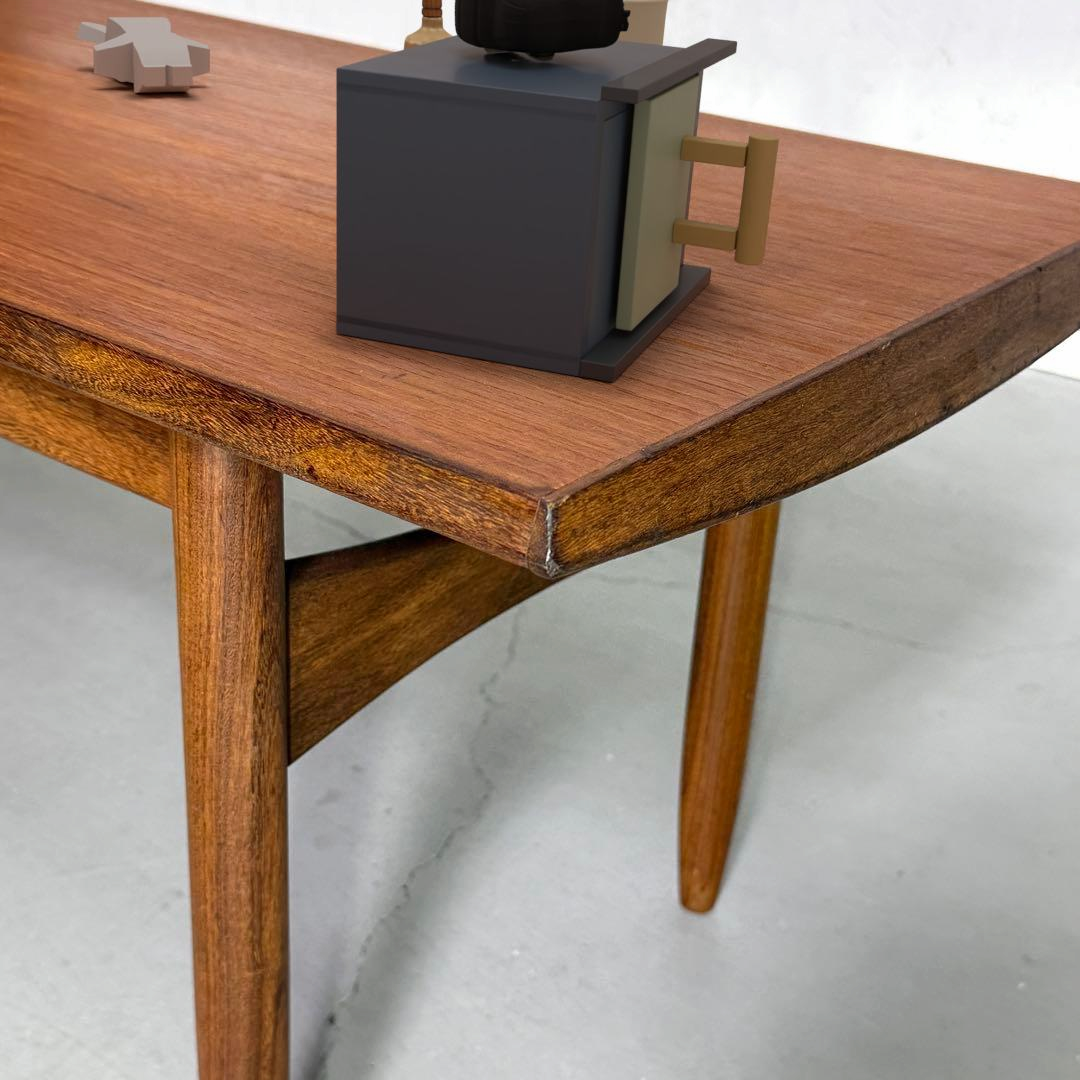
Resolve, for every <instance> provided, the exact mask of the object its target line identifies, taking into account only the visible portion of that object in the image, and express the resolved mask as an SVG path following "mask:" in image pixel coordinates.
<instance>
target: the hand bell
mask: <svg viewBox="0 0 1080 1080" xmlns="http://www.w3.org/2000/svg"><path fill="white" fill-rule="evenodd" d="M421 7H422V8H421V15H422V17H421V26H420V27H419V28H418V29H417V30H416V31H414V32H412V33H410V34H407V36H406V37H405V39H404V43H403V50H404V49H408V48H412V47H415V46H419V45H423V44H426V43H430V42H434V41H437V40H441V39H445V38H448V37H452V36H453V35H452V34H451V33H449V32H448V31H446V29H445V27H444V19H443V8H442V7H443V0H421Z"/></svg>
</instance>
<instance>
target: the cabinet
mask: <svg viewBox="0 0 1080 1080" xmlns="http://www.w3.org/2000/svg"><path fill="white" fill-rule="evenodd" d="M737 48H738V41H736V40H729V39H719V38H711V37H708V38H705V39H703V40H701V41H698V42H696V43H694V44H692V45H689V46H687V47H682V46H681V47H679V46H671V45H664V44H663V45H654V44H645V43H636V42H627V41H618V40H617V41H616V42H615V43H614V44H613V45H611V46H608V47H606V48H597V49H584V50H577V51H571V52H563V53H555V54H554V57H553V59H552V60H549V61H547V62H542V61H538V60H536V59H533V58H531V57H529V56H528V55H527V54H526V53H522V52H495V53H487V52H486V51H485V50H484V48H480V47H476V46H473V45H470V44H468V43H466V42H464V41H463V40H461V39H460V38H459V37H458V35H457V34H456V35H452V37H448V38H445V39H441V40H437V41H434V42H430V43H426V44H423V45H419V46H415V47H412V48H408V49H404V48H403V49H401V50H398V51H394V52H390V53H387V54H383V55H378V56H376V57H375V56H374V57H372V58H369V59H364V60H361V61H357V62H354V63H349V64H347V65H343V66H342V65H341V66H339V67H336V74H335V76H336V77H335V78H336V80H335V82H336V83H335V84H336V85H335V87H336V89H335V90H336V96H335V97H336V98H335V99H336V102H335V103H336V105H335V106H336V109H335V110H336V117H335V118H336V123H335V124H336V125H335V126H336V127H335V128H336V131H335V132H336V133H335V135H336V136H335V138H336V141H335V142H336V146H335V147H336V148H335V149H336V156H335V157H336V163H335V164H336V168H335V169H336V184H335V185H336V187H335V189H336V191H335V192H336V195H335V196H336V197H335V199H336V201H335V202H336V204H335V205H336V207H335V208H336V216H335V217H336V219H335V220H336V226H335V227H336V230H335V231H336V237H335V239H336V243H335V244H336V245H335V246H336V251H335V252H336V256H335V257H336V262H335V263H336V272H335V273H336V275H335V276H336V282H335V283H336V284H335V285H336V289H335V290H336V291H335V292H336V294H335V295H336V296H335V297H336V301H335V302H336V303H335V305H336V315H335V333H336V334H338V335H343V336H350V337H355V338H359V339H366V340H370V341H371V340H372V341H377V342H382V343H383V342H384V343H389V344H394V345H400V346H404V347H405V346H406V347H411V348H415V349H416V348H417V349H423V350H428V351H433V352H439V353H446V354H450V355H455V356H460V357H461V356H462V357H467V358H473V359H479V360H484V361H490V362H495V363H501V364H507V365H512V366H519V367H524V368H529V369H534V370H540V371H545V372H551V373H556V374H562V375H567V376H574V377H580V378H586V379H591V380H597V381H602V382H607V383H614V382H615V381H616V380H617V379H618V378H619V377H620V376H621V375H622V373H624V371H626V369H628V367H630V365H631V364H632V363H633V362H634V361H635V360H636V359H637V358H638V357H639V356H640V355H641V354H642V353H643V352H644V351H645V350H646V349H647V348H648V347H649V346H651V344H652V343H653V342H654V341H655V340H656V339H657V338H658V337H659V335H660V334H662V332H663V331H664V330H665V329H666V328H667V327H668V326H669V325H670V324H671V323H672V322H673V321H674V320H675V319H676V318H677V317H678V316H679V315H680V314H681V312H683V310H685V309H686V308H687V306H688V305H689V304H690V303H691V302H692V301H693V300H694V299H695V298H696V297H697V296H698V295H699V294H700V293H701V292H702V291H703V290H704V289H705V288H706V287H707V286H708V285H709V284H710V283H711V279H712V278H711V277H712V268H711V267H706V266H700V265H694V264H686V263H684V260H685V253H686V252H685V250H686V245H685V244H682V250H681V260H680V270H679V279H678V286H677V287H676V288H675V289H674V290H673V291H672V292H671V293H670V294H669V295H668V296H667V297H666V298H665V299H663V300H662V301H661V302H660V303H659V304H658V305H657V306H656V307H655V308H654V309H653V310H652V311H651V312H650V313H649V314H648V315H647V316H646V317H645V318H644V319H643V320H642V321H641V322H640V323H639V324H638V325H637V326H636V327H635V328H634V329H633V330H631V331H627V330H621V329H616V327H615V326H616V315H617V303H618V291H619V280H620V268H621V256H622V245H623V233H624V222H625V210H626V198H627V187H628V175H629V163H630V152H631V140H632V129H633V117H634V105H635V104H638V103H640V102H642V101H644V100H646V99H648V98H650V97H652V96H653V95H655V94H657V93H659V92H661V91H663V90H665V89H667V88H669V87H671V86H673V85H675V84H677V83H679V82H681V81H683V80H684V79H686V78H688V77H690V76H692V75H698V76H699V87H698V96H697V106H696V116H695V125H694V135H693V136H696V137H698V135H697V134H698V128H699V116H700V110H701V109H700V108H701V100H702V99H701V97H702V88H703V78H704V70H706V69H708V68H710V67H712V66H713V65H716V64H717V63H719V62H722V61H724V60H726V59H727V58H729V57H731V56H733V55H736V54H737ZM694 165H695V162H693V161H691V164H690V173H689V183H688V193H687V202H686V212H685V219H686V220H689V213H690V205H691V204H690V202H691V194H692V184H693V175H694Z"/></svg>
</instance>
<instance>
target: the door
mask: <svg viewBox="0 0 1080 1080" xmlns="http://www.w3.org/2000/svg"><path fill="white" fill-rule="evenodd" d="M698 87H699V76H698V75H692V76H690V77H688V78H686V79H684V80H683V81H681V82H679V83H677V84H675V85H673V86H671V87H669V88H667V89H665V90H663V91H661V92H659V93H657V94H655V95H653V96H652V97H650V98H648V99H646V100H644V101H642V102H640V103H638V104H635V105H634V117H633V129H632V140H631V152H630V163H629V175H628V187H627V198H626V210H625V222H624V233H623V245H622V256H621V268H620V280H619V291H618V303H617V315H616V326H615V327H616V329H621V330H627V331H631V330H633V329H634V328H635V327H636V326H637V325H638V324H639V323H640V322H641V321H642V320H643V319H644V318H645V317H646V316H647V315H648V314H649V313H650V312H651V311H652V310H653V309H654V308H655V307H656V306H657V305H658V304H659V303H660V302H661V301H662V300H663V299H665V298H666V297H667V296H668V295H669V294H670V293H671V292H672V291H673V290H674V289H675V288H676V287H677V286H678V279H679V270H680V260H681V250H682V244H685V246H693V247H699V248H705V249H712V250H719V251H725V252H734V258H733V259H734V260H733V261H734V262H735V263H737V264H740V265H742V266H743V265H744V266H753V267H754V266H755V267H756V266H760V265H763V264H764V261H765V260H764V259H765V253H766V243H767V237H768V236H767V235H768V230H769V229H768V228H769V220H770V214H771V206H772V205H771V204H772V198H773V197H772V196H773V190H774V189H773V188H774V181H775V174H776V166H777V160H778V150H779V143H780V137H779V136H777V135H775V134H771V133H760V132H758V133H750V134H749V136H748V142H742V141H736V140H735V141H733V140H727V139H718V138H710V137H704V136H697V137H696V136H693V135H694V125H695V116H696V106H697V96H698ZM691 161H693V162H694V163H701V164H708V165H715V166H716V165H717V166H724V167H730V168H739V169H744V176H743V183H742V184H743V185H742V190H741V191H742V192H741V200H740V208H739V217H738V225H737V226H734V225H726V224H719V223H712V222H706V221H699V220H692V219H688V220H686V219H685V212H686V202H687V193H688V183H689V173H690V164H691Z"/></svg>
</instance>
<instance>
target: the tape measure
mask: <svg viewBox="0 0 1080 1080" xmlns="http://www.w3.org/2000/svg"><path fill="white" fill-rule="evenodd" d="M630 13H631V11H630V10H625V9H624V3H623V0H454V28H455V33H456V35H458V37H459V38H460V39H461V40H463V41H464V42H466V43H468V44H470V45H473V46H476V47H480V48H484V50H485V51H486V52H487V53H495V52H522V53H526V54H527V55H528V56H529V57H531V58H533V59H536V60H538V61H542V62H547V61H549V60H552V59H553V57H554V54H555V53H563V52H571V51H577V50H584V49H597V48H606V47H608V46H611V45H613V44H614V43H615V42H616V41H617V40H618V38H619V35H620V32H621V31H623V32H624V31H627V30H628V27H629V23H628V17H629V16H630Z"/></svg>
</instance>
